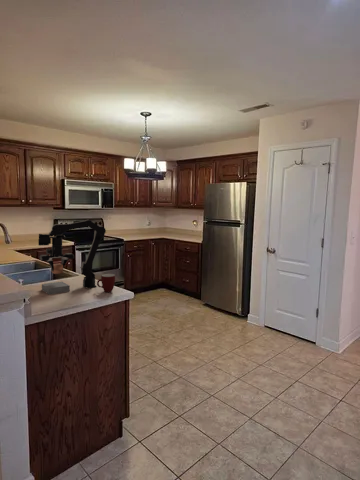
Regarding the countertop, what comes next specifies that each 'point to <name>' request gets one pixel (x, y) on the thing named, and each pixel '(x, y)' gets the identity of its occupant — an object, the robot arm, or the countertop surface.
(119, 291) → the countertop surface
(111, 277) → the mug
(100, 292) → the countertop surface
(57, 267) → the cube
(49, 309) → the countertop surface
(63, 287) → the plinth
